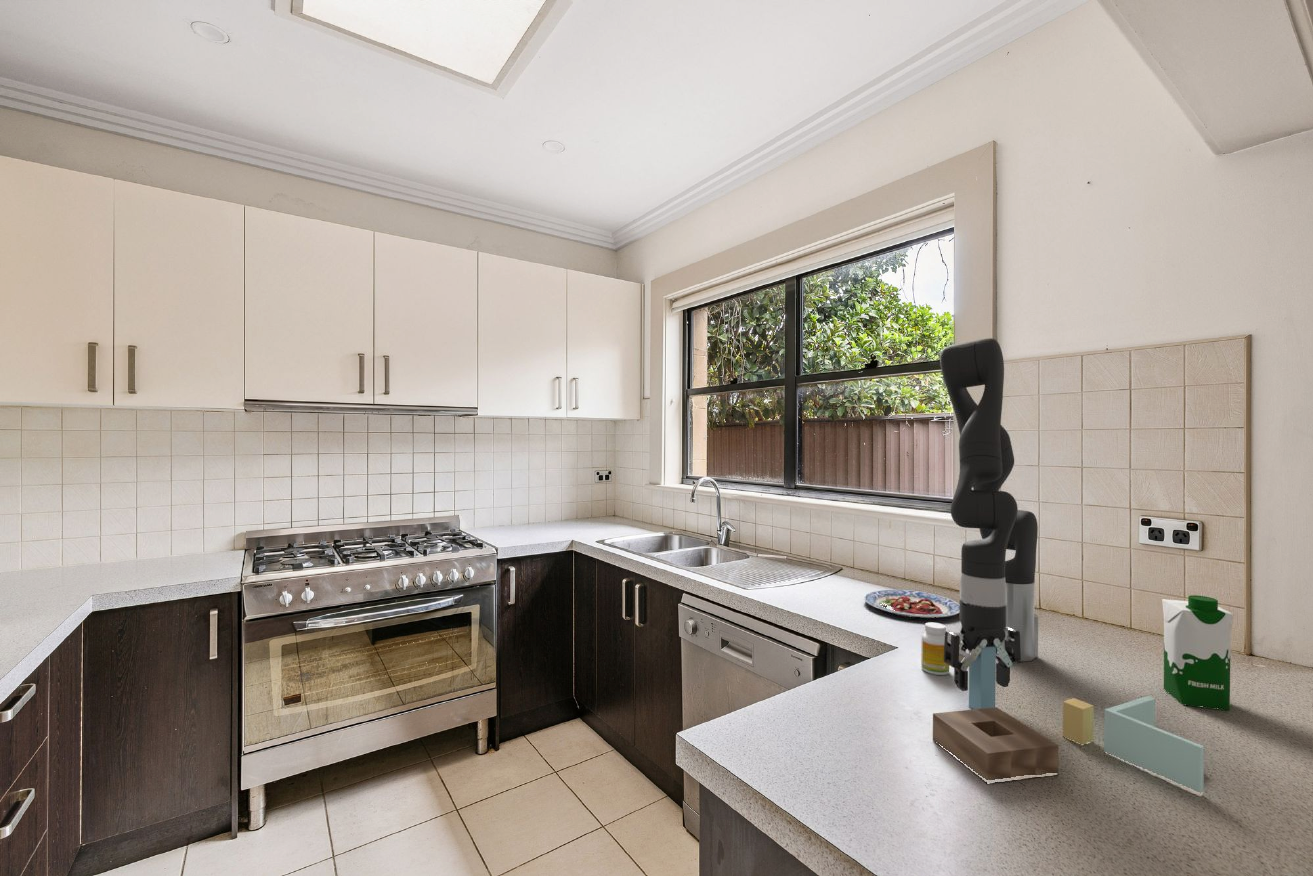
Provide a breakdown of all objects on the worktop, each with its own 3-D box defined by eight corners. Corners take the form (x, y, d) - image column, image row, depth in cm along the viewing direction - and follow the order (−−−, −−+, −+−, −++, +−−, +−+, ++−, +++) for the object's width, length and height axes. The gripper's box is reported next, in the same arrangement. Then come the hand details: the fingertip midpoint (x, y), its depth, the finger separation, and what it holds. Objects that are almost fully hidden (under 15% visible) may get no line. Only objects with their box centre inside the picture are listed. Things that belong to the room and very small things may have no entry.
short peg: (1073, 733, 97) (1073, 698, 97) (1093, 741, 95) (1093, 705, 94) (1062, 737, 96) (1063, 701, 96) (1082, 746, 93) (1082, 709, 93)
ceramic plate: (965, 605, 170) (965, 595, 170) (957, 630, 148) (957, 619, 148) (874, 592, 184) (874, 583, 184) (854, 613, 162) (854, 603, 162)
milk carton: (1179, 706, 107) (1180, 599, 107) (1155, 686, 115) (1156, 587, 115) (1239, 714, 104) (1240, 604, 104) (1210, 693, 112) (1211, 591, 112)
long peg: (982, 704, 107) (983, 640, 107) (995, 712, 104) (995, 646, 104) (968, 706, 107) (969, 641, 107) (980, 714, 104) (981, 647, 104)
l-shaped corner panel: (1200, 801, 80) (1200, 747, 80) (1104, 756, 91) (1104, 709, 91) (1243, 780, 85) (1244, 730, 85) (1147, 740, 96) (1147, 695, 96)
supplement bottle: (952, 676, 120) (953, 630, 120) (924, 674, 121) (925, 628, 121) (945, 666, 125) (945, 622, 125) (918, 664, 126) (918, 620, 126)
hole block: (996, 733, 97) (996, 707, 97) (1058, 775, 85) (1058, 745, 85) (932, 740, 95) (932, 713, 95) (987, 784, 83) (987, 753, 83)
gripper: (1000, 591, 110) (1000, 675, 111) (934, 595, 108) (933, 681, 108) (1033, 603, 103) (1032, 693, 103) (962, 607, 100) (962, 699, 100)
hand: (982, 687), depth 106 cm, fingers open, 8 cm apart
